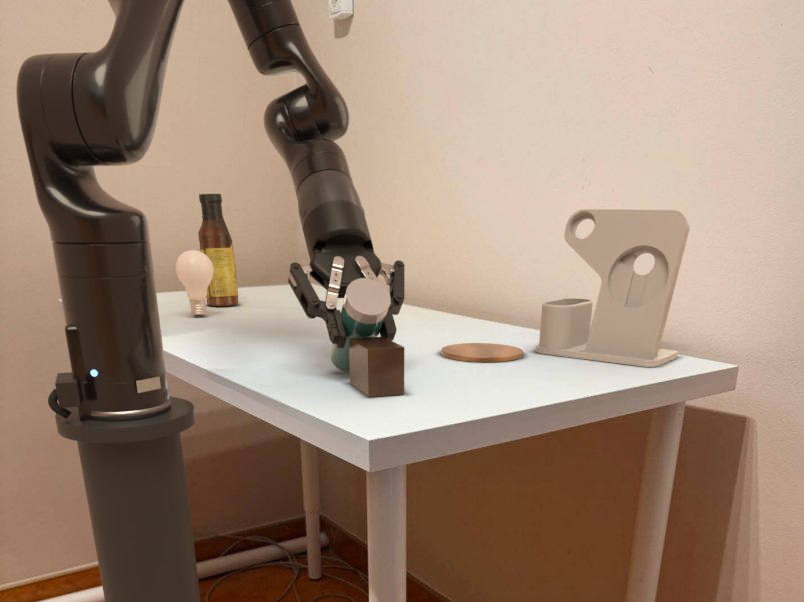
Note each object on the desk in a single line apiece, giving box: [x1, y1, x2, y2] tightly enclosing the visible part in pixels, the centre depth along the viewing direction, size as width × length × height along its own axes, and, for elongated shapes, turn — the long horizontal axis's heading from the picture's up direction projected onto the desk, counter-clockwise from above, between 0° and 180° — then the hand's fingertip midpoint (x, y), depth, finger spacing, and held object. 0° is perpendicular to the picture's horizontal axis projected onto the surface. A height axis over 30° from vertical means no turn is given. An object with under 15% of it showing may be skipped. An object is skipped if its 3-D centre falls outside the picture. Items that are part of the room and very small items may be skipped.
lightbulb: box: [174, 249, 214, 318], centre depth 131 cm, size 6×6×11 cm
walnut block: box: [349, 336, 405, 398], centre depth 82 cm, size 4×7×5 cm, turn 20°
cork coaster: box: [440, 342, 524, 363], centre depth 102 cm, size 11×11×1 cm
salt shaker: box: [329, 278, 391, 374], centre depth 86 cm, size 5×11×11 cm, turn 20°
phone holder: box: [535, 208, 690, 368], centre depth 99 cm, size 17×10×18 cm, turn 53°
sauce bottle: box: [198, 193, 239, 307], centre depth 144 cm, size 6×6×20 cm
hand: (365, 342), depth 84 cm, fingers closed on salt shaker, 4 cm apart
